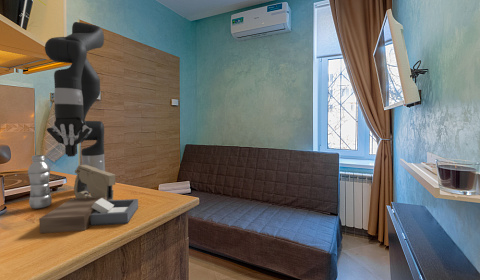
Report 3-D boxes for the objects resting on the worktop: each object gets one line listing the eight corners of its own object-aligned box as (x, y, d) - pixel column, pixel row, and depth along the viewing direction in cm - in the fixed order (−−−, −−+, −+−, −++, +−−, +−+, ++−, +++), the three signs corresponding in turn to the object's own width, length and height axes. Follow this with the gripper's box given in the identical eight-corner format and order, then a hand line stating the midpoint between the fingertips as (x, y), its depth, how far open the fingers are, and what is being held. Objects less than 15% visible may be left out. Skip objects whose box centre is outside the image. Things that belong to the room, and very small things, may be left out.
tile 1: (98, 202, 81) (101, 197, 81) (111, 209, 82) (114, 205, 82) (91, 207, 76) (94, 202, 76) (104, 215, 77) (108, 210, 77)
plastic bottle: (38, 204, 91) (35, 154, 90) (56, 204, 92) (53, 154, 90) (24, 210, 85) (21, 157, 83) (43, 210, 85) (40, 157, 84)
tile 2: (127, 206, 83) (128, 212, 84) (113, 207, 83) (113, 212, 83) (123, 212, 78) (123, 217, 79) (107, 213, 78) (107, 218, 78)
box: (107, 209, 87) (106, 200, 87) (138, 207, 89) (138, 198, 89) (90, 225, 74) (90, 215, 73) (127, 223, 76) (127, 213, 75)
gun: (72, 197, 100) (73, 163, 98) (80, 195, 103) (81, 162, 101) (107, 213, 89) (108, 175, 87) (115, 210, 92) (116, 174, 90)
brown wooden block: (72, 210, 86) (71, 198, 86) (107, 208, 88) (106, 197, 88) (40, 233, 68) (39, 218, 68) (84, 230, 71) (84, 215, 70)
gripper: (96, 104, 80) (98, 154, 81) (53, 103, 77) (55, 154, 79) (86, 103, 73) (88, 157, 74) (38, 101, 70) (41, 158, 72)
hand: (71, 156), depth 76 cm, fingers closed
